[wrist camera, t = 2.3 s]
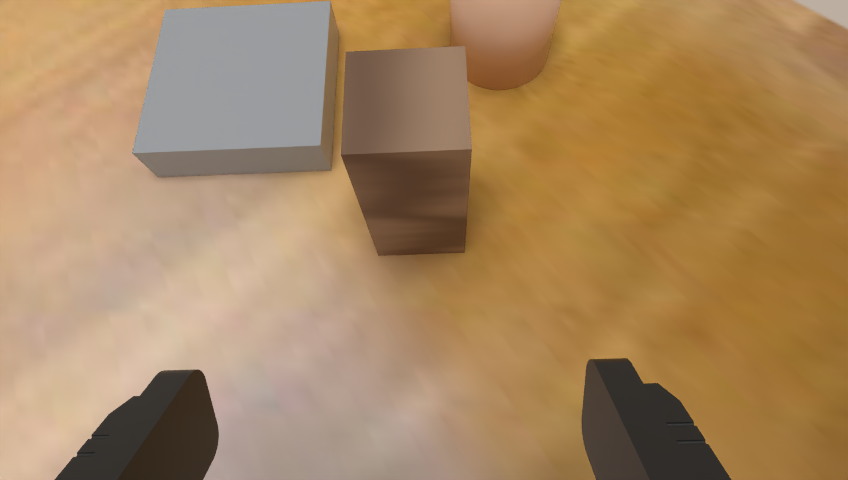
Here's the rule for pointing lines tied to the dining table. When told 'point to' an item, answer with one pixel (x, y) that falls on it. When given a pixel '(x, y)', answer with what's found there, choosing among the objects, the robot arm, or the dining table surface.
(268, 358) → the dining table surface
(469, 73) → the pink smooth domed block
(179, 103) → the plinth
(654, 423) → the robot arm
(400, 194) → the walnut block
